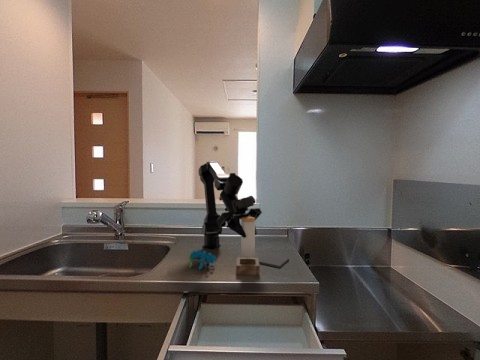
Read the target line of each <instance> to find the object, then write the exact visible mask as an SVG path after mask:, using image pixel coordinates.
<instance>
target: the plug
mask: <svg viewBox="0 0 480 360" xmlns="http://www.w3.org/2000/svg"><path fill="white" fill-rule="evenodd" d="M240 224H241V226H242V228H243V230H244V232H245V234H246V237H245V238H244V237H242V236H241V235H240V238H241V241H240V243H241V244H240V256H241V258H255V257H256V256H255V255H256V254H255V251H256V250H255V248H256V247H255V246H256V245H255V244H256V243H255V242H256V241H255V240H256V235H255V226H256V220H255V218H254V217H242V219H241V222H240Z"/></svg>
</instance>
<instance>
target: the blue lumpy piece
mask: <svg viewBox="0 0 480 360" xmlns="http://www.w3.org/2000/svg"><path fill="white" fill-rule="evenodd" d="M187 259H188V260H189V262H190V263H189V266H188V267H189V269H191V268H192V266H193V264H194V263H195V264H196V263H197V264H199V267H198V270H199V271H202V270H203V266H204V263H206V264H207V265H210V264H212V265H213V264H214V262H217V258H216V255H214V254H213V253H211V252H208V253H207V251H206V250H202V251H201V250H200V249H197V250H192V252H191V253H189V255H188V258H187Z"/></svg>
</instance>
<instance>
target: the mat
mask: <svg viewBox="0 0 480 360" xmlns="http://www.w3.org/2000/svg"><path fill="white" fill-rule="evenodd" d="M289 259H290V258H289V257H284V256H280V255H274V254H269V253H266V254H265V255H263V256H261V257H260V258H258V260H259V265H265V266H268V267H269V266H270V267H273V268H279V269H280V268H281V267H283V266H284V265H285V264H287V262H289Z"/></svg>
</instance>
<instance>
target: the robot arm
mask: <svg viewBox="0 0 480 360" xmlns="http://www.w3.org/2000/svg"><path fill="white" fill-rule="evenodd" d="M198 176H199V179H200V181H201V183H202V184H203V188H204V196H205V197H204V198H205V207H206V210H205V211H206V215H205V217H204V219H203V224H202V227H201V234H202V235H203V236H204V237H203V239H204V241H203V242H204V244H203V245H202V248H206V249H211V250H214V249H217V248H219V247H221V244H220V236H219V235H221V234H222V232H223V228H225V227H226V229H230V230H232V231H233V232H235V233H236V234H238V235H239V236H240V237H241V236H242V237H244V238H245V237H246V234H245V232H244V230H243V228H242V226H241V220H242V217H254V218H255V221H256V220H257V219H258V218H259V217H260V216H261V214H262V213H263V212H262V210H261V208H259V207H254V208H250V207H253V206H254V205H255V204H256V199H255V197H254V196H253V195H249V196H247V197H242V198H240V199H239V198H238V197H237V195H238V193H240V190H241V187H242V185H243V183H244V180H243V178H241V177H240V176H239V175H236V173H235V172H231V173H230V174H228V173H225V172H224V170H223V169H222V168H221V166H220V165H219V162H218V161H211V160H209V161H206V163H204V164H202V165H200V166H199V168H198ZM215 189H216V190H217V191H221V192H220V193H219V197H218V198H219V201H222V203H223V204H224V206H225V208H224V210H225V211H224V212H222V213H221V214H219V213H218V212H217V204H216V196H215V193H216V192H215ZM249 208H250V210H249ZM248 210H249V211H248ZM257 234H258V231H257V228H256V225H255V236H257Z"/></svg>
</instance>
